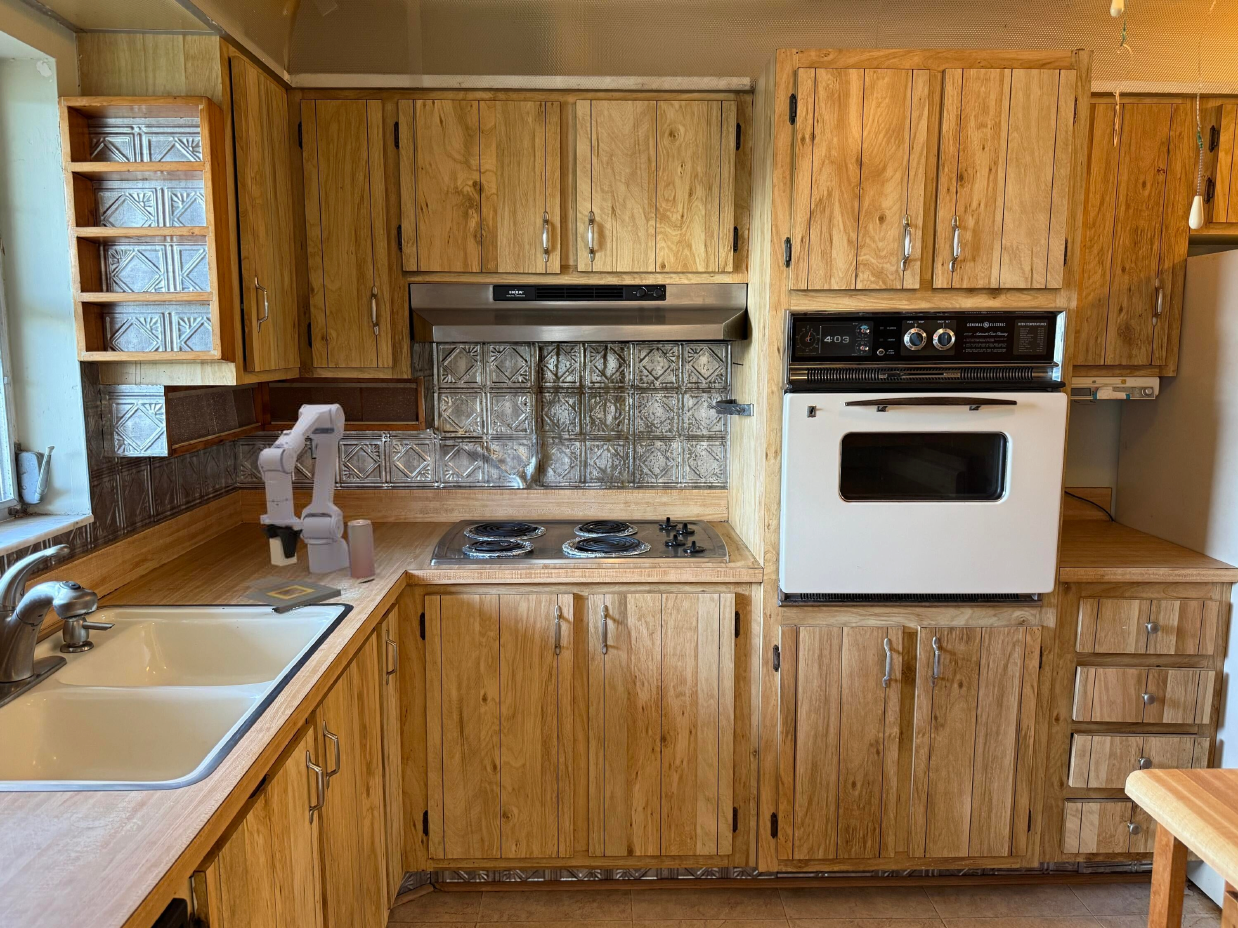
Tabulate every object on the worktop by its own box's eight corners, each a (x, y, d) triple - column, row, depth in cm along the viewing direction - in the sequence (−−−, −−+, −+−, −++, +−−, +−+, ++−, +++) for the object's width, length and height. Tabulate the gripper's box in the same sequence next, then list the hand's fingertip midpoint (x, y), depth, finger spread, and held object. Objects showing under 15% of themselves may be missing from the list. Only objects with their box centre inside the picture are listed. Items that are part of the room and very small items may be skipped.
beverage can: (346, 580, 218) (342, 522, 216) (368, 575, 222) (364, 518, 220) (358, 585, 214) (354, 525, 211) (380, 580, 218) (376, 521, 216)
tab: (272, 581, 219) (272, 576, 218) (291, 586, 214) (291, 580, 214) (243, 589, 212) (242, 583, 212) (261, 594, 207) (261, 588, 207)
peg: (286, 560, 206) (284, 535, 205) (296, 562, 204) (294, 537, 203) (271, 563, 203) (269, 538, 202) (281, 566, 201) (279, 540, 200)
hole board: (301, 585, 215) (300, 578, 215) (341, 595, 206) (340, 588, 205) (240, 602, 202) (240, 595, 202) (280, 613, 193) (280, 606, 193)
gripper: (246, 499, 203) (251, 556, 205) (282, 505, 194) (286, 564, 196) (274, 494, 208) (278, 549, 210) (309, 500, 200) (314, 557, 202)
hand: (284, 556), depth 203 cm, fingers closed on peg, 4 cm apart
